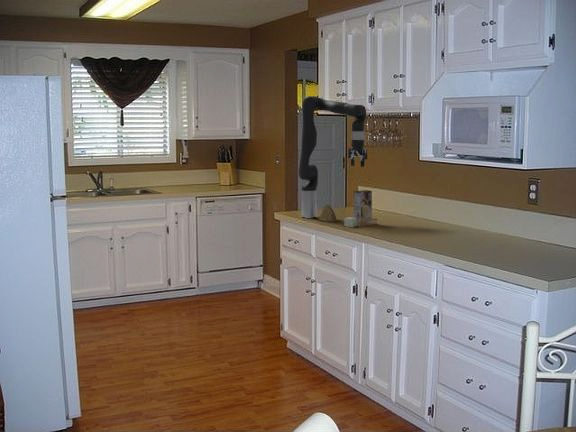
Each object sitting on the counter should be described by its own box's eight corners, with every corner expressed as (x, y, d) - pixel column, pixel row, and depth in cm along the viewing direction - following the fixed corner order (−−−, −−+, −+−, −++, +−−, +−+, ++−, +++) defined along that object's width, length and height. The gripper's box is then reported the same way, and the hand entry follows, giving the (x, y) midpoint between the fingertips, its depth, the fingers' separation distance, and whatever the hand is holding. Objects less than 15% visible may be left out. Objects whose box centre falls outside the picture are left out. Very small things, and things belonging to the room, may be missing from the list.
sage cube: (344, 226, 382) (344, 218, 381) (349, 225, 386) (349, 217, 385) (351, 227, 379) (351, 219, 378) (356, 226, 382) (356, 217, 382)
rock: (341, 217, 401) (334, 213, 410) (333, 207, 398) (327, 203, 407) (327, 229, 400) (321, 224, 409) (319, 218, 397) (313, 214, 406)
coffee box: (364, 216, 395) (364, 189, 392) (372, 217, 390) (372, 190, 387) (353, 218, 389) (353, 191, 387) (360, 219, 384) (360, 192, 382)
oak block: (347, 224, 391) (347, 218, 391) (362, 222, 399) (362, 216, 398) (361, 227, 382) (361, 220, 381) (376, 225, 389) (376, 218, 388)
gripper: (345, 138, 397) (344, 165, 400) (361, 139, 386) (360, 167, 389) (354, 138, 402) (354, 165, 404) (370, 139, 390) (370, 166, 393)
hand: (357, 166), depth 396 cm, fingers open, 8 cm apart
